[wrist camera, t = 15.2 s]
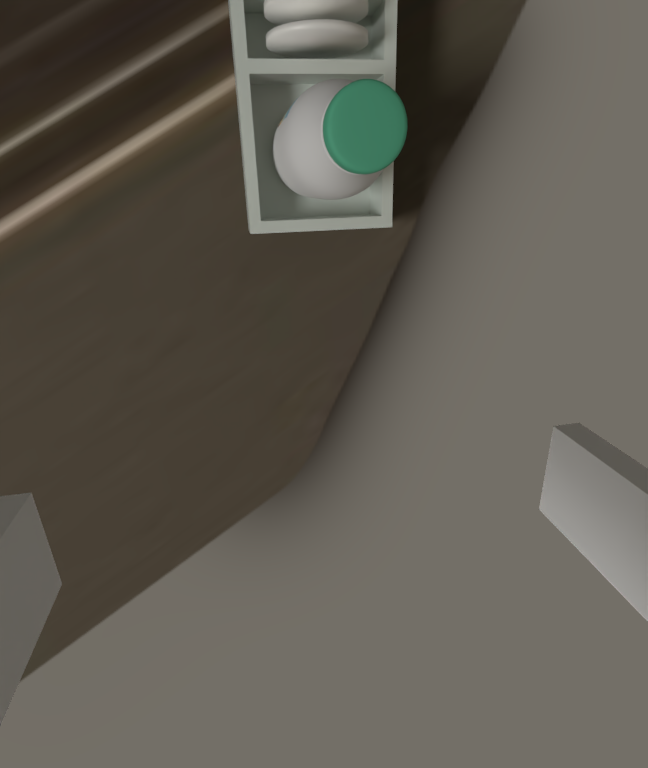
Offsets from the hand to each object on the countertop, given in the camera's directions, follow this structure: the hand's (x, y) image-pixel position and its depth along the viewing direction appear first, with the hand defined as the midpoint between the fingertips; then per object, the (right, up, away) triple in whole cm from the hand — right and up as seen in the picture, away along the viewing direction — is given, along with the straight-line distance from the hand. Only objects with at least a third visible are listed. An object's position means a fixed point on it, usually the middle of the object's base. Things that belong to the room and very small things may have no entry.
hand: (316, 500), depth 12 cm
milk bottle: (-1, +24, +31) cm, 40 cm away
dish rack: (-1, +27, +31) cm, 41 cm away
